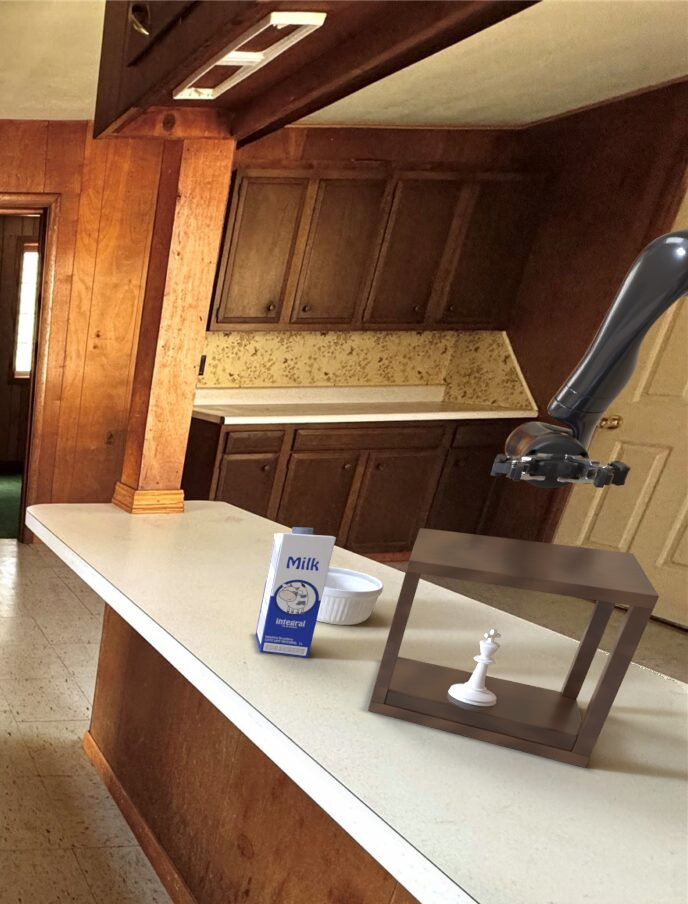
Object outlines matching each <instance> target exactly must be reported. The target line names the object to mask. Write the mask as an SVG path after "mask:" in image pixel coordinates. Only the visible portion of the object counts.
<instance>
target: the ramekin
mask: <svg viewBox="0 0 688 904" xmlns="http://www.w3.org/2000/svg"><path fill="white" fill-rule="evenodd" d="M383 589H384V583H383V582H382V581H381V580H380V579H379V578H377V577H375V576H373V575H370V574H367V573H365V572H362V571H357V570H353V569H349V568H345V567H344V568H343V567H336V566H329V569H328V573H327V577H326V582H325V586H324V590H323V595H322V599H321V603H320V608H319V612H318V616H317V621H316V622H321V623H324V624H325V623H326V624H331V625H339V626H340V625H341V626H354V625H359V624H362V623H363V622H365V621H366V620H367V619H369V618H370V617H371V615H372V612H374V608H375V606H376V604H377V601H378V598H379V596H381V595H382V593H383Z"/></svg>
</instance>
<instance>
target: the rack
mask: <svg viewBox="0 0 688 904" xmlns="http://www.w3.org/2000/svg"><path fill="white" fill-rule="evenodd" d="M421 575H426V576H427V575H428V576H432V577H433V576H434V577H438V578H439V577H440V578H446V579H453V580H460V581H467V582H474V583H479V584H486V585H493V586H498V587H506V588H511V589H518V590H524V591H531V592H538V593H546V594H550V595H557V596H565V597H571V598H577V599H584V600H592V601H595V603H594V606H593V608H592V610H591V614H590V616H589V618H588V621H587V623H586V626H585V628H584V631H583V634H582V636H581V638H580V642H579V644H578V646H577V649H576V651H575V653H574V657H573V659H572V662H571V664H570V667H569V669H568V672H567V674H566V677H565V679H564V681H563V684H562V687H561V689H560V691H558V690H554V689H550V688H544V687H541V686H536V685H531V684H527V683H522V682H517V681H513V680H508V679H503V678H499V677H495V676H489V675H486V677H485V684H484V686H485V687H486V688H487V690H489V691H490V692H492V693H493V694H494V695H495V696H496V698H497V699H496V704H495V705H493V706H477V705H472V704H468V703H465V702H462V701H460V700H457V699H455V698H454V697H452V696H451V695H450V694H449V692H448V691H449V689H450V687H451V686H452V685H455V684H464V683H466V682H468V681H469V680H470V678H471V676H472V674H473V672H472V671H466V670H463V669H457V668H452V667H449V666H443V665H439V664H435V663H430V662H425V661H420V660H415V659H411V658H408V657H402V656H399V653H400V649H401V646H402V643H403V639H404V635H405V631H406V629H407V626H408V625H407V624H408V621H409V618H410V614H411V611H412V607H413V603H414V600H415V597H416V593H417V589H418V586H419V582H420V578H421ZM659 598H660V595H659V593H658V592H657V590H656V589H655V587H654V585H653V584H652V582H651V580H650V578H649V577H648V576H647V574H646V572H645V571H644V569H643V567H642V565H641V564H640V563H639V561H638V559H637V557H636V556H635V554H634V553H633V552H625V551H617V550H609V549H608V550H607V549H601V548H600V549H599V548H591V547H583V546H575V545H565V544H558V543H549V542H541V541H533V540H526V539H525V540H523V539H515V538H509V537H499V536H491V535H481V534H475V533H474V534H473V533H465V532H458V531H448V530H441V529H433V528H432V529H431V528H423V527H420V528H419V530H418V532H417V536H416V539H415V541H414V545H413V548H412V551H411V554H410V555H409V559H408V562H407V566H406V569H405V573H404V577H403V581H402V584H401V589H400V591H399V594H398V599H397V601H396V606H395V611H394V614H393V618H392V621H391V624H390V627H389V632H388V635H387V639H386V643H385V646H384V649H383V652H382V653H383V654H382V656H381V661H380V664H379V668H378V671H377V675H376V679H375V683H374V686H373V690H372V693H371V697H370V701H369V703H368V704H369V705H368V708H367V711H369V712H372V713H376V714H380V715H384V716H387V717H390V718H394V719H398V720H403V721H406V722H409V723H413V724H418V725H421V726H425V727H429V728H433V729H436V730H440V731H445V732H447V733H452V734H455V735H459V736H462V737H463V736H464V737H466V738H470V739H473V740H474V739H475V740H478V741H482V742H486V743H490V744H494V745H496V746H500V747H505V748H508V749H512V750H516V751H520V752H524V753H527V754H532V755H534V756H539V757H542V758H547V759H550V760H553V761H558V762H562V763H565V764H569V765H573V766H576V767H580V768H586V767H587V765H588V763H589V760H590V757H591V754H592V753H593V751H594V748H595V746H596V744H597V741H598V739H599V737H600V734H601V732H602V730H603V727H604V725H605V723H606V721H607V718H608V716H609V714H610V711H611V709H612V707H613V704H614V702H615V699H616V697H617V695H618V692H619V691H620V688H621V685H622V683H623V680H624V678H625V676H626V674H627V672H628V669H629V667H630V665H631V663H632V659H633V658H634V656H635V653H636V651H637V648H638V646H639V644H640V641H641V640H642V637H643V635H644V632H645V630H646V629H647V625H648V623H649V621H650V618H651V616H652V614H653V611H654V609H655V608H656V607H655V606H656V605H657V602H658V600H659ZM616 604H618V605H624V606H628V608H627V611H626V613H625V615H624V618H623V620H622V623H621V625H620V628H619V630H618V633H617V634H616V637H615V639H614V642H613V644H612V647H611V649H610V652H609V653H608V656H607V659H606V660H605V664H604V666H603V669H602V671H601V674H600V676H599V679H598V681H597V683H596V685H595V688H594V690H593V693H592V695H591V697H590V699H589V702H588V705H587V707H586V709H585V712H584V714H583V716H582V717H581V712H580V708H579V703H578V697H579V695H580V692H581V690H582V688H583V685H584V683H585V680H586V678H587V675H588V673H589V669H590V668H591V665H592V663H593V660H594V658H595V657H596V656H595V655H596V654H597V651H598V648H599V645H600V644H601V641H602V638H603V636H604V633H605V631H606V629H607V626H608V624H609V621H610V619H611V616H612V614H613V611H614V609H615V606H616Z"/></svg>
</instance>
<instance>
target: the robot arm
mask: <svg viewBox="0 0 688 904" xmlns="http://www.w3.org/2000/svg"><path fill="white" fill-rule="evenodd" d="M684 298H688V227H684V228H680V229H676V230H673V231H671V232H667V233H664V234H663V235H661V236H658V237H657V238H655V239H653V240H652V241H650V242H649V243H648V244H647V245H645V247H643V248H642V250H641V251H640V252H638V254H637V256H636V257H635V259H634V260H633V262H632V264H631V265H630V267H629V269H628V270H627V272H626V274H625V276H624V278H623V280H622V281H621V284H620V286H619V288H618V290H617V292H616V294H615V296H614V297H613V300H612V302H611V304H610V306H609V307H608V309H607V311H606V313H605V315H604V317H603V318H602V321H601V323H600V325H599V327H598V329H597V331H596V333H595V334H594V337H592V338H593V339H591V342H590V343H589V345H588V347H587V349H586V351H585V352H584V354H583V355H582V357H581V358H580V360H579V361H578V362H577V364H576V366H575V367H574V368H573V369H572V371H571V372H570V373H569V375H568V376H567V378H566V379H565V381H564V382H563V383H562V384H561V386H560V387H559V389H558V390H557V391H556V393H554V395H553V396H552V398H551V399H550V401H549V402H548V405H547V408H546V410H547V413H548V415H549V416H550V417H551V418H552V419H554V420H556V421H557V422H560V423H561V424H563V425H565V426H567V427H568V428H566V427H562V426H559V425H554V424H550V423H547V422H542V421H537V420H536V421H533V420H532V421H527V422H524V423H522V424H520V425H519V426H517V427H516V428H515V429H514V430H513V431H512V432H511V433H509V436H508V437H507V439H506V441H505V445H504V453H498V454H497V455H496V456H495V459H494V461H493V465H492V469H491V471H490V474H489V475H490V476H492V477H501V476H502V474H504V475H506V476H505V477H506V478H508V479H512V482H520V481H521V480H524V481H526V482H527V483H528V484H529V485H532V486H534V487H537V488H540V489H558V488H562V487H566V486H568V485H572V484H578V485H591V484H593V486H594V487H595V488H597V489H603V488H604V487H605V486H611V485H614V486H617V487H620V486H625V484H626V480H627V477H628V475H629V472H630V471H631V466H629V465H627V464H626V463H624V462H623V461H620V460H614V461H613V460H612V461H609V462H607V463H606V465H603V464H601V462H600V461H599V460H597V459H592V458H590V454H589V452H588V449H589V446H590V444H591V440H592V438H593V434H594V433H595V430H596V428H597V426H598V424H599V422H600V420H601V419H602V417H603V416H604V415H605V413H607V411H608V409H609V408H610V407H611V406H612V404H613V403H614V402H615V401H616V400H617V398H618V397H620V395H621V394H622V393H623V391H624V390H625V389H626V387H627V386H628V384H629V383H630V381H631V380H632V378H633V376H634V374H635V372H636V370H637V367H638V363H639V360H640V359H639V358H640V354H641V349H642V345H643V343H644V341H645V339H646V336H647V335H648V333H649V332H650V330H651V329H652V328H653V326H654V324H656V322H657V321H658V320H659V319H660V318H661V317H662V316H663V315H664V314H665V313H666V312H667V311H668V310H669V309H670V308H671V307H672V306H673V305H674V304H676V303H677V301H678V300H680V299H684ZM569 428H570V429H569Z"/></svg>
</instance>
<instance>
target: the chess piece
mask: <svg viewBox="0 0 688 904" xmlns="http://www.w3.org/2000/svg"><path fill="white" fill-rule="evenodd" d="M498 631H499V630H498V629H496V628H491V630H490V632H488V633H486V632H485V633H484V635H483V636H484V637H485V638H486V639H482V640H480V641H479V648H480V649H479V651H480V654H478V655H475V656H474V657H473V660H474V661H476V662H478V663H477V664H476V667H475V668H474V670H473V672H472V673H473V674H472V676H471V678H470V680H469V681H468V682H466V683H464V684H455V685H452V686H451V687H450V689H449V691H448V692H449V694H450V695H451V696H452V697H454V698H455V699H457V700H460V701H462V702H465V703H468V704H472V705H477V706H493V705H495V704H496V699H497V698H496V696H495V695H494V694H493V693H492V692H490V691H489V690H487V688H486V687H485V686H484V684H485V677H486V676H487V671H488V665H495V664H496V659H494V658H493V657H492V656H493V655H494V654H495V653H496V652H497V651H498V650H499V649H500V647H501V645H500V644H499V643H498V642H496V641H495V639H501V637H502V634H501V633H498Z"/></svg>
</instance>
